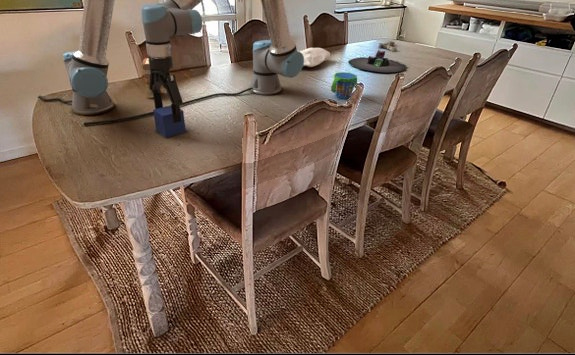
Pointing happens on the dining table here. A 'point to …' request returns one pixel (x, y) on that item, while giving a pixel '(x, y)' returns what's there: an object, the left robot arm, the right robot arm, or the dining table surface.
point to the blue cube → (168, 122)
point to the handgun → (388, 45)
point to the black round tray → (377, 63)
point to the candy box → (147, 76)
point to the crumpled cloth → (314, 56)
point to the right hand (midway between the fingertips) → (168, 115)
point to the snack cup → (343, 84)
